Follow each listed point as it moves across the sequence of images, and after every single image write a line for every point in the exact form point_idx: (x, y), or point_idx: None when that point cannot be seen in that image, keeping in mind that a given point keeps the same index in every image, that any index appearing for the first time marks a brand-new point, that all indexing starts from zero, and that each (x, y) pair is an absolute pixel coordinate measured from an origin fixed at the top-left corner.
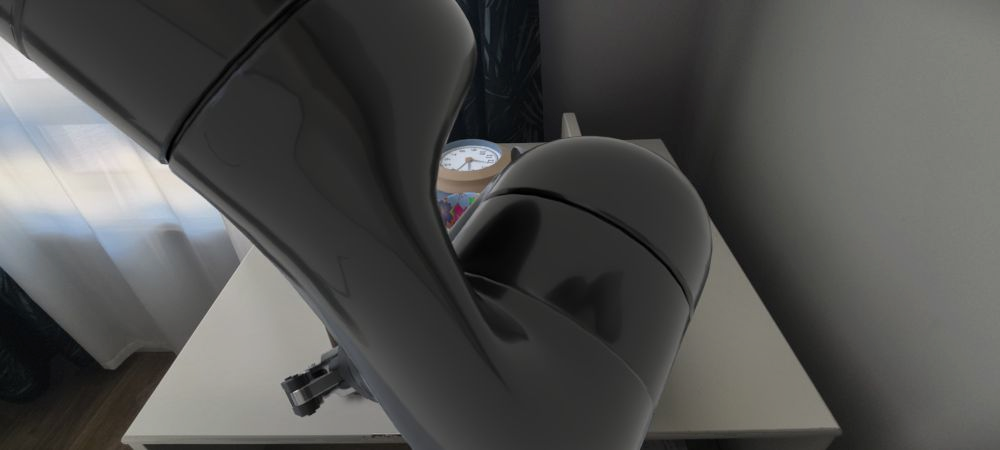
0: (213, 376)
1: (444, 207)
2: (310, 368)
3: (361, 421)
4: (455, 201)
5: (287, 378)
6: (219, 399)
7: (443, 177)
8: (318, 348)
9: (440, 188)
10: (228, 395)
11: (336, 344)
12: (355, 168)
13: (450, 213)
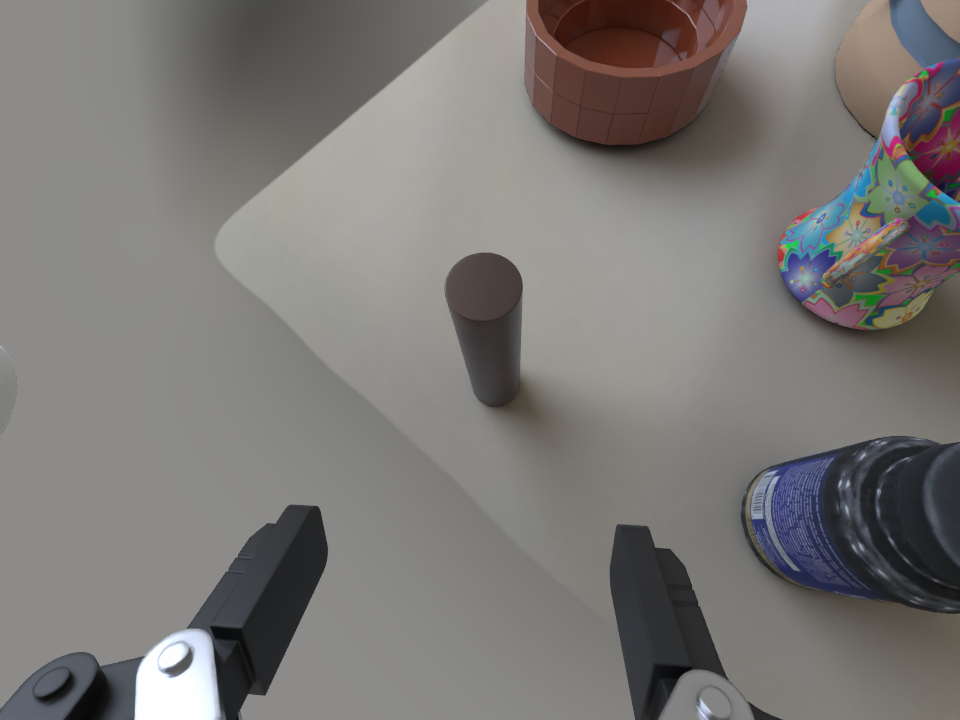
0: (318, 214)
1: (943, 89)
2: (138, 699)
3: (459, 460)
4: None
5: (38, 695)
6: (306, 262)
7: None
8: None
9: (940, 13)
10: (319, 263)
11: (462, 346)
12: None
13: (939, 115)
